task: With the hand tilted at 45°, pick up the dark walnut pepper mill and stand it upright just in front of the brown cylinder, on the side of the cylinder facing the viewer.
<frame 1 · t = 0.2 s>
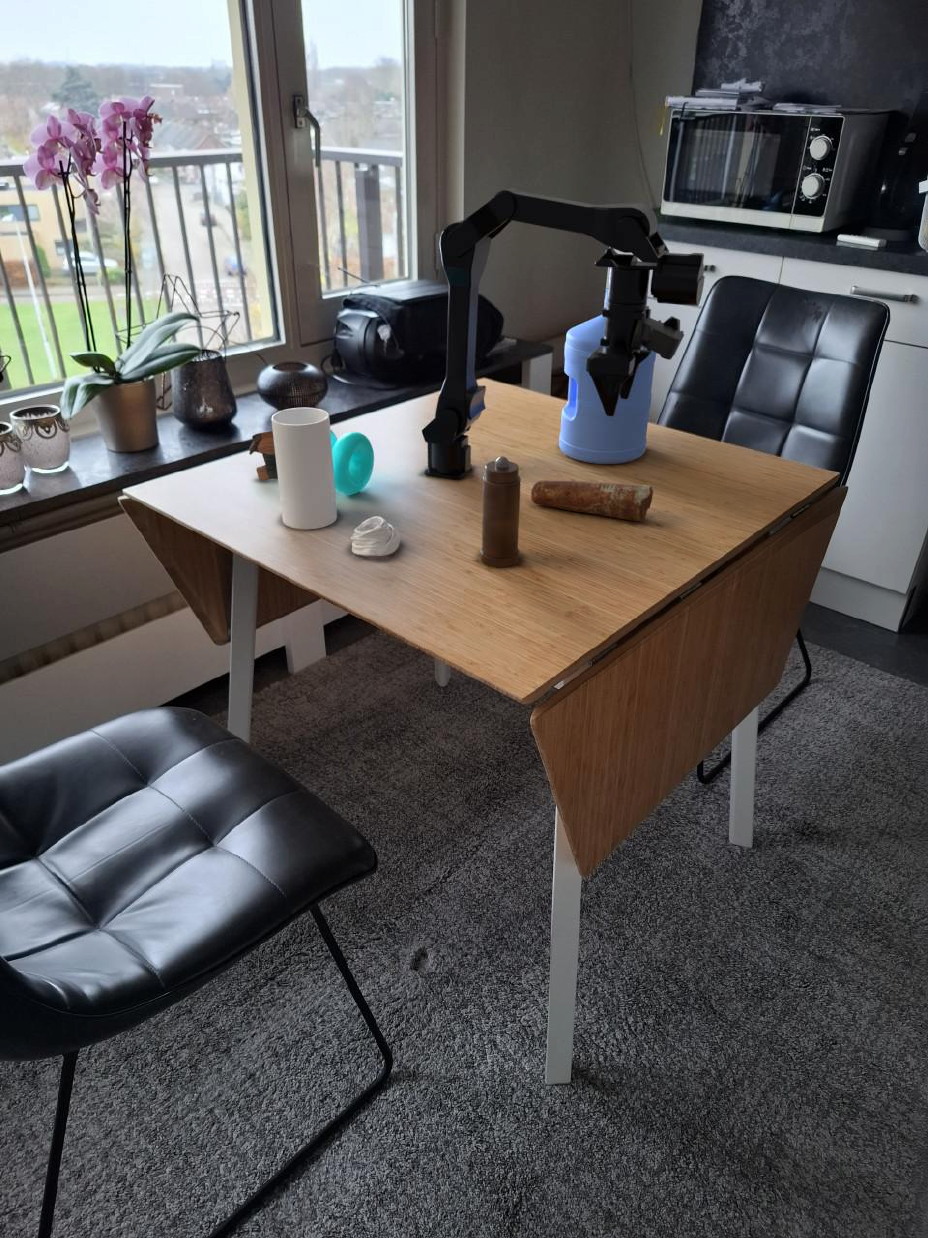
hand: (617, 406, 135), 15 cm above the table, tool pointing down, fingers open, 9 cm apart
brown cylinder: (588, 514, 137), on the table
donuts: (336, 489, 145), on the table
water jug: (601, 451, 161), on the table
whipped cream: (374, 551, 125), on the table
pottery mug: (283, 473, 151), on the table
cup: (310, 519, 135), on the table
pepper mill: (499, 558, 123), on the table
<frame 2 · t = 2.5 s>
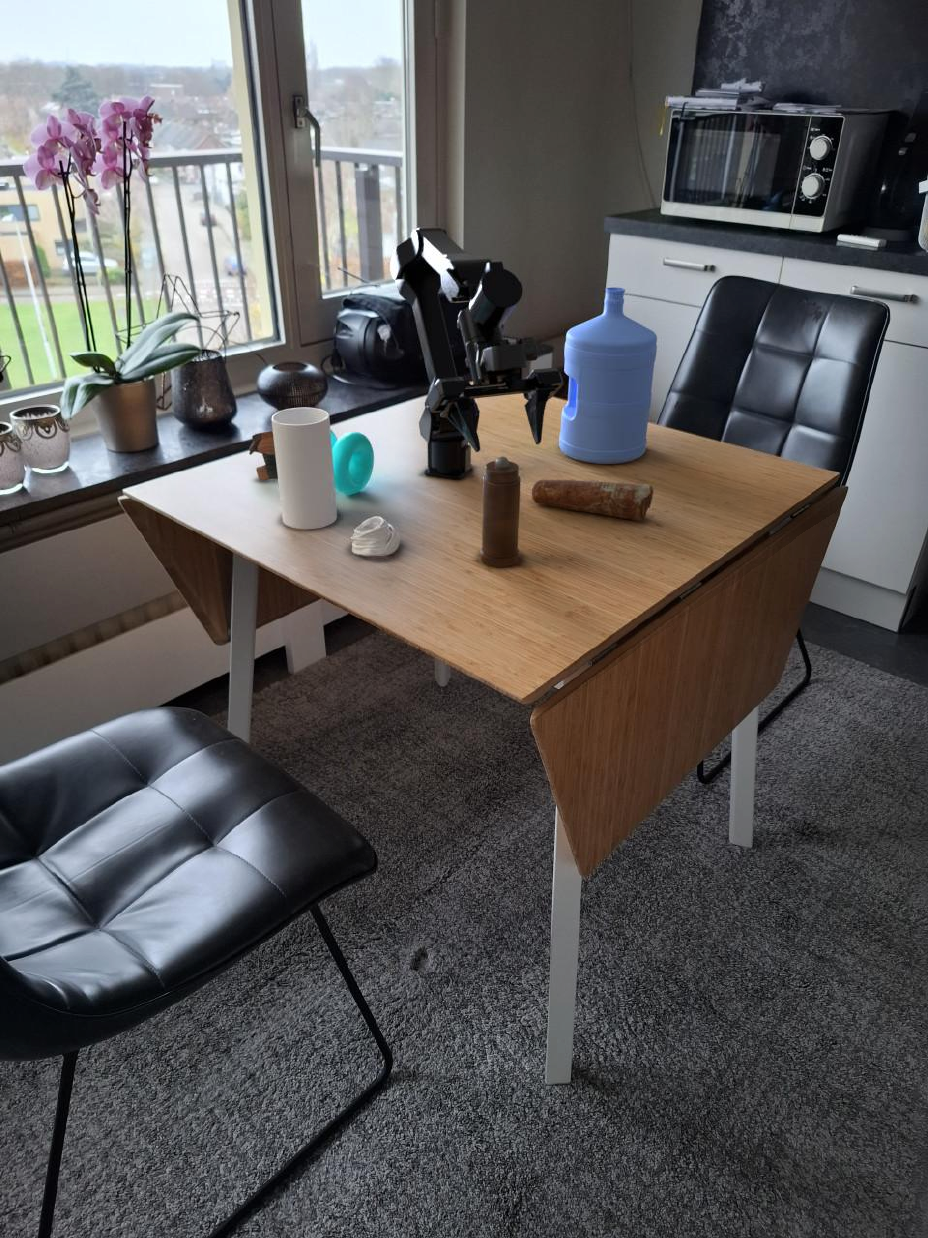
hand: (508, 447, 124), 13 cm above the table, tool tilted 40°, fingers open, 9 cm apart
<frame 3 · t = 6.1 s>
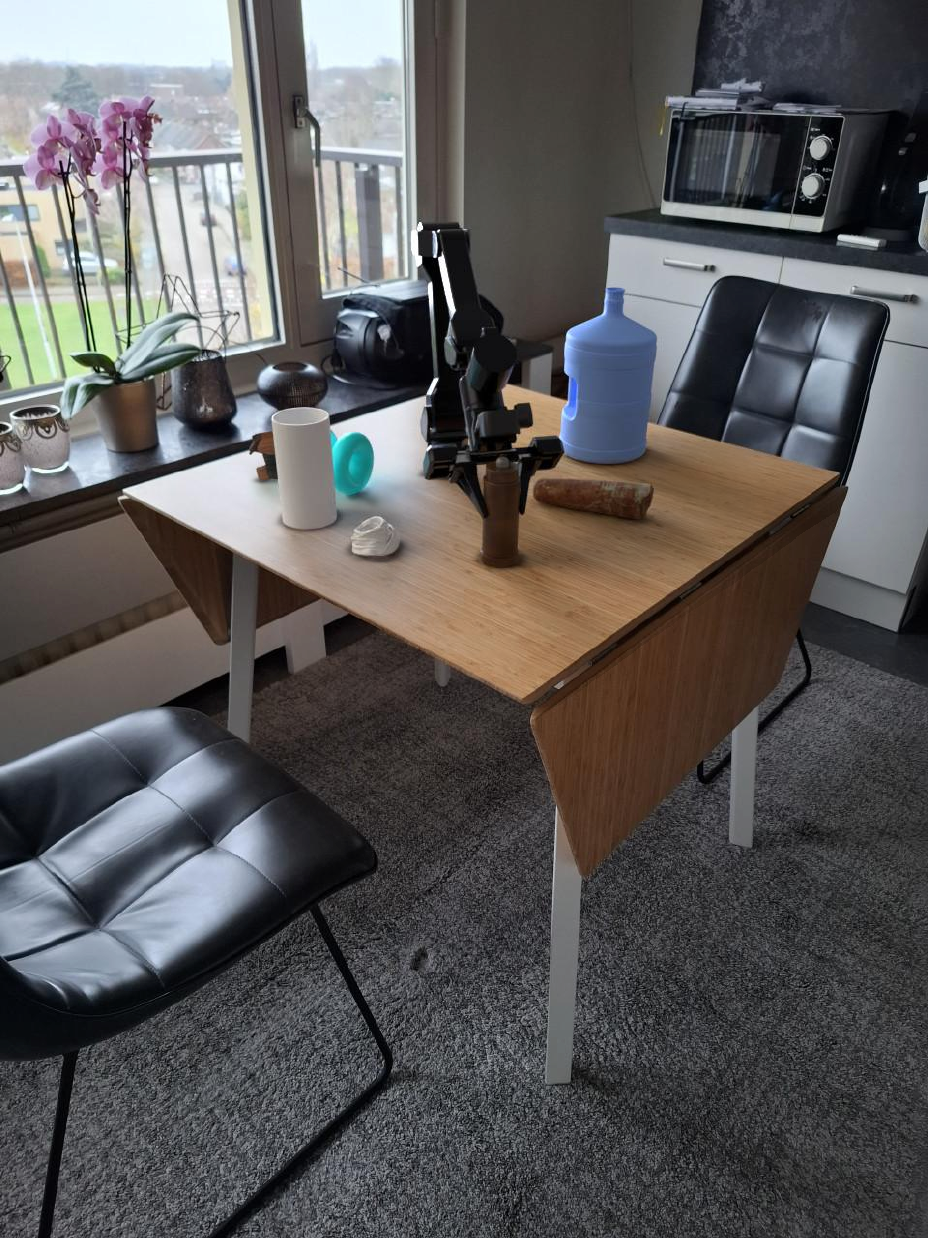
hand: (503, 515, 118), 7 cm above the table, tool tilted 45°, fingers closed on pepper mill, 5 cm apart
pepper mill: (499, 558, 123), on the table, touching gripper
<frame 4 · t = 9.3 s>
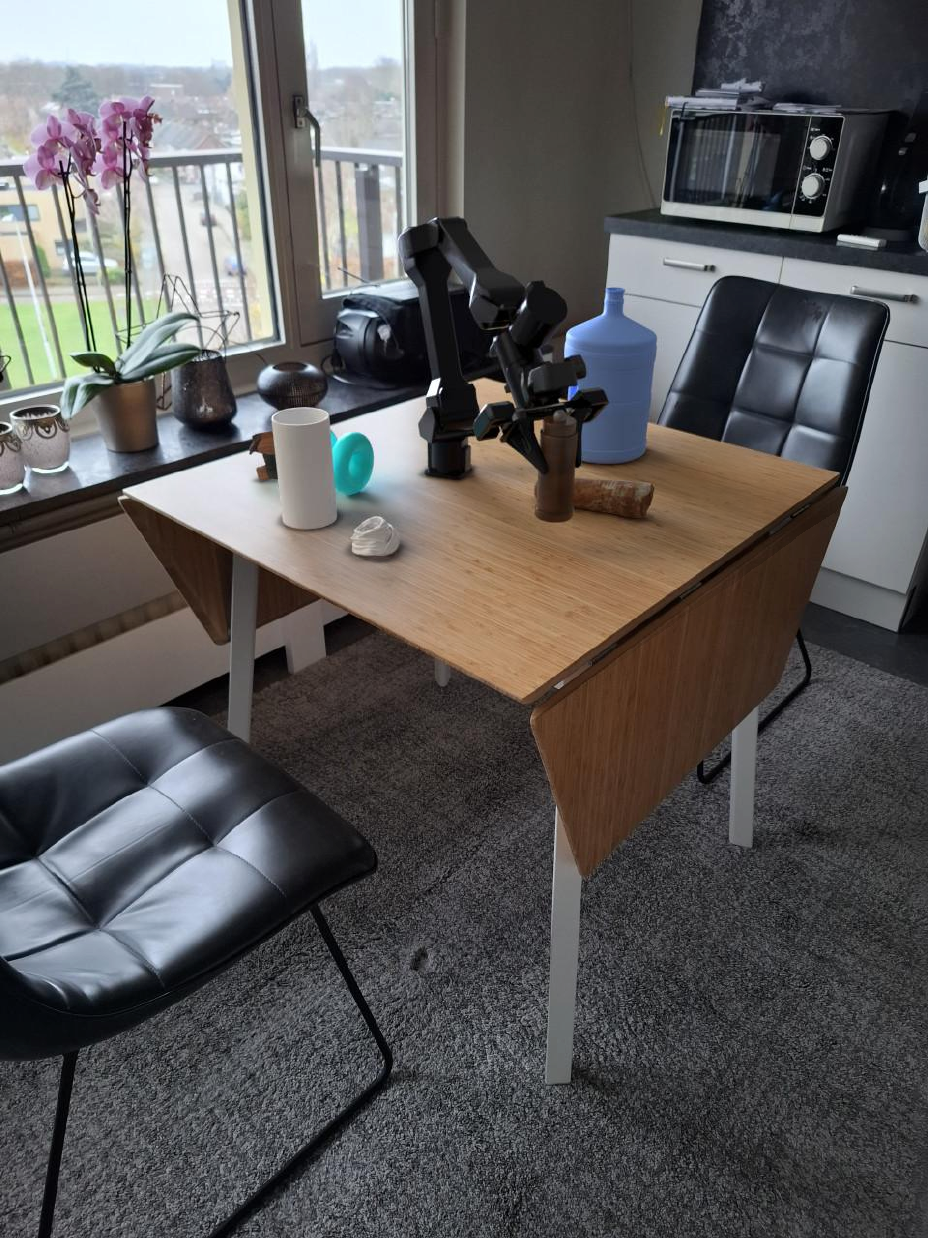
hand: (562, 470, 118), 12 cm above the table, tool tilted 45°, fingers closed on pepper mill, 5 cm apart
pepper mill: (553, 514, 123), point 5 cm above the table, touching gripper
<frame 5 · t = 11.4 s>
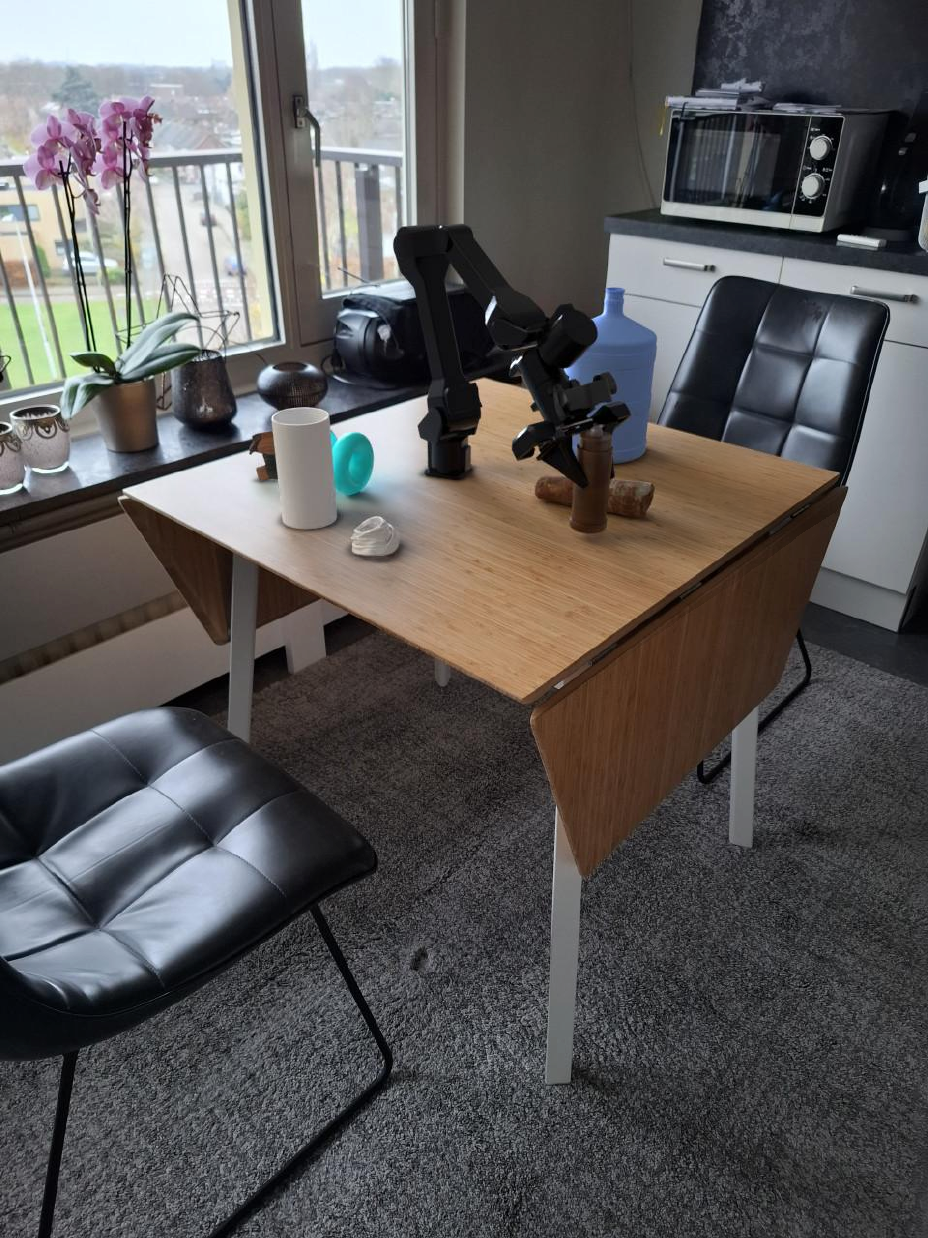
hand: (598, 482, 123), 9 cm above the table, tool tilted 45°, fingers closed on pepper mill, 5 cm apart
pepper mill: (588, 525, 128), point 2 cm above the table, touching gripper
when the fingers open (7 cm above the table, at t = 12.5 s): pepper mill stays where it is, on the table.
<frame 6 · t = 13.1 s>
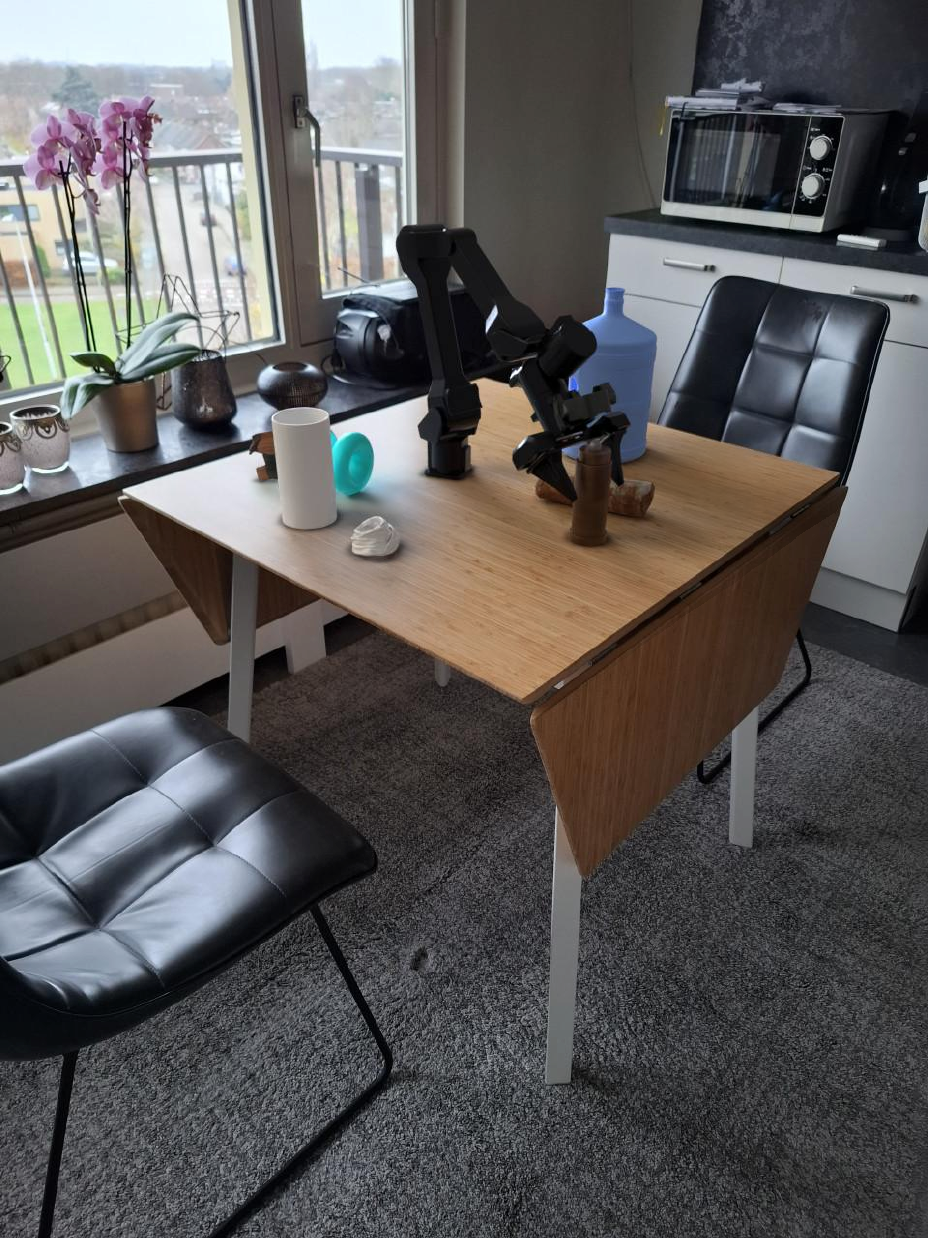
hand: (598, 492, 124), 8 cm above the table, tool tilted 45°, fingers open, 9 cm apart
pepper mill: (587, 538, 129), on the table
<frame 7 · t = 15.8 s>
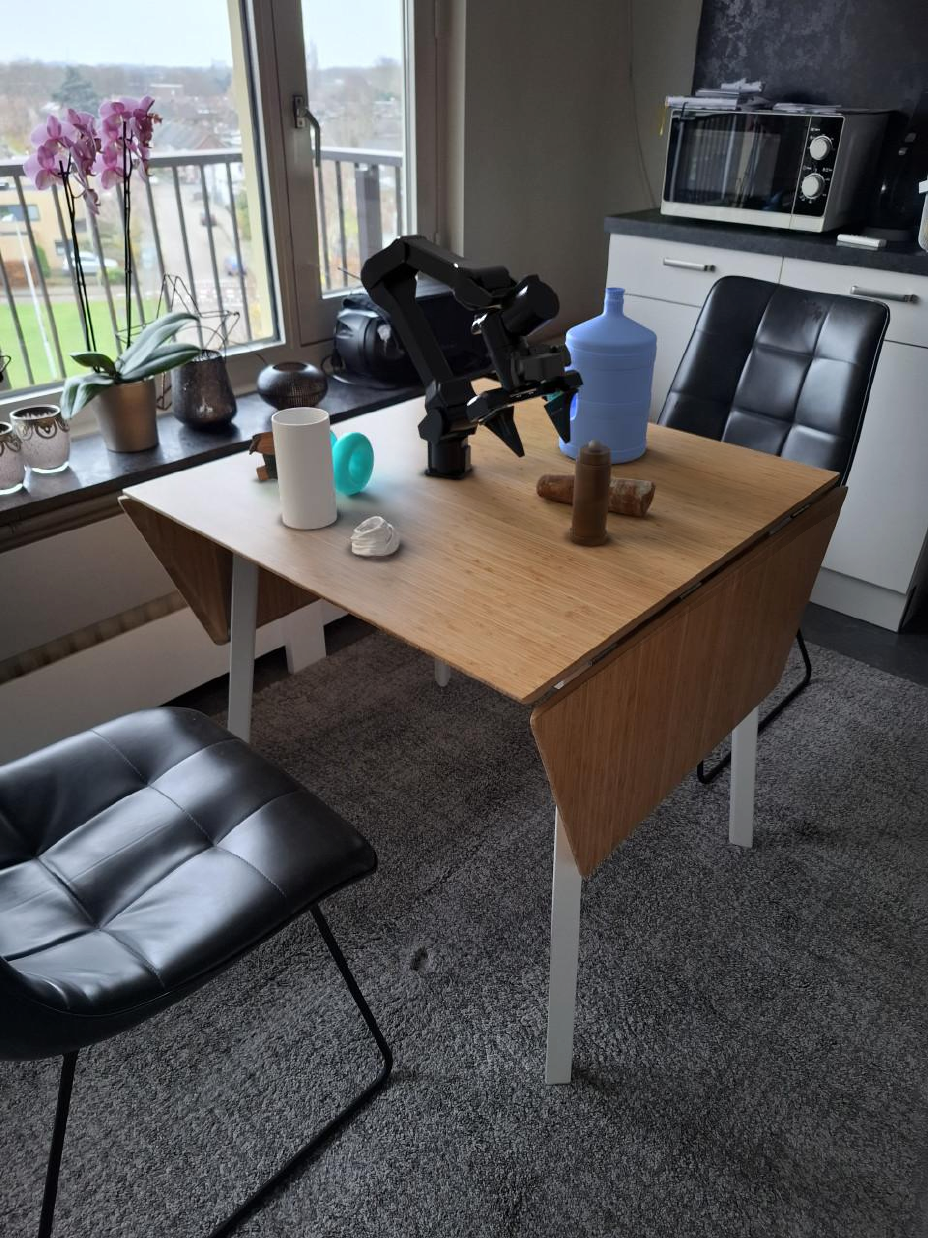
hand: (545, 449, 131), 10 cm above the table, tool tilted 35°, fingers open, 9 cm apart
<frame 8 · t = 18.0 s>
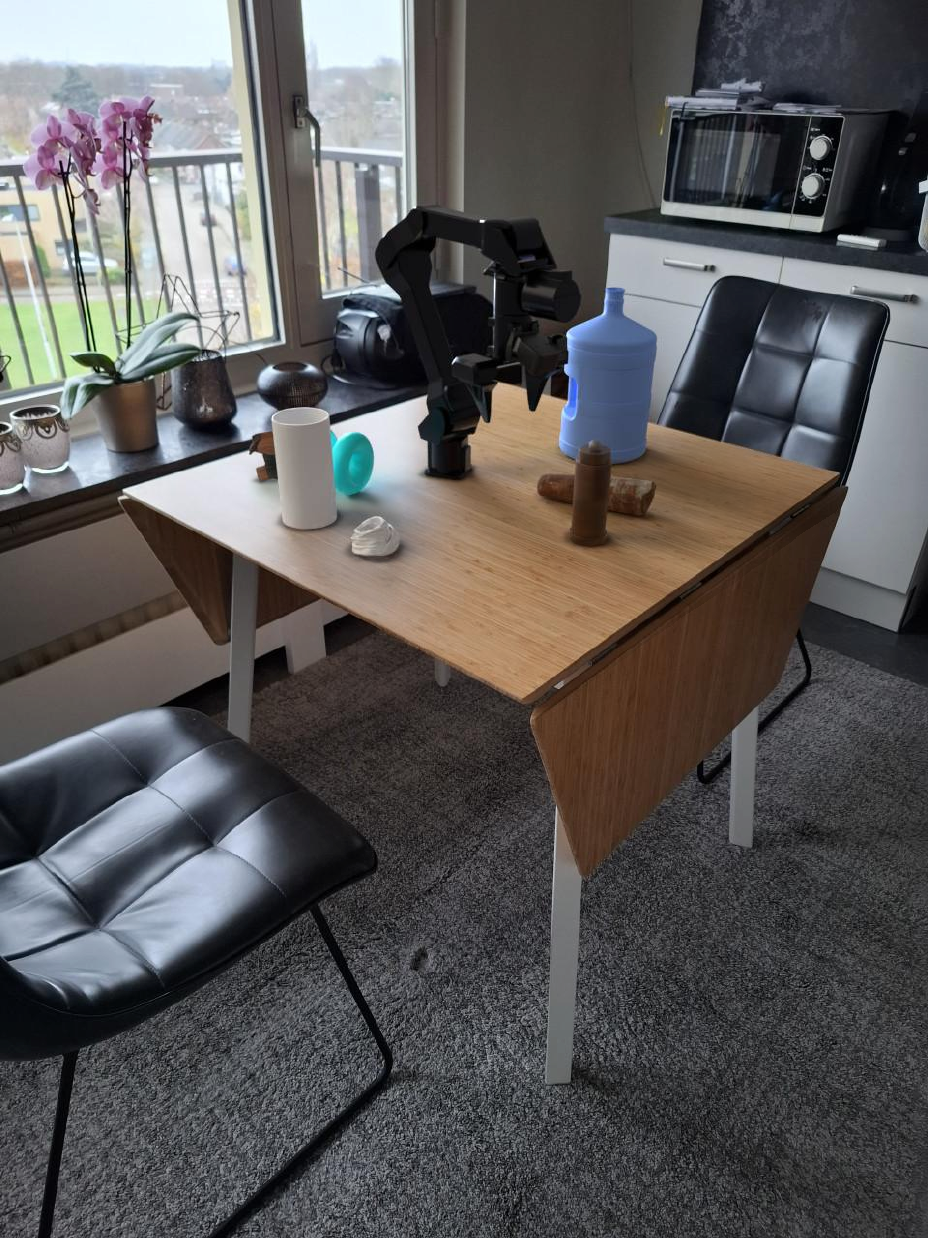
hand: (510, 416, 136), 13 cm above the table, tool pointing down, fingers open, 9 cm apart
at the end: pepper mill inside the target area on the table beside the brown cylinder (2.2 cm from its centre), on the table; pepper mill tilted 0°; brown cylinder moved 2.7 cm from its start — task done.
